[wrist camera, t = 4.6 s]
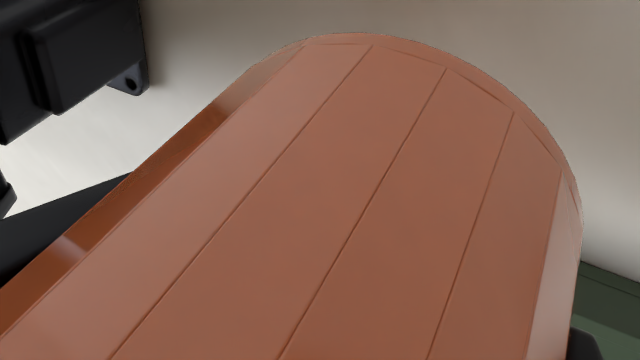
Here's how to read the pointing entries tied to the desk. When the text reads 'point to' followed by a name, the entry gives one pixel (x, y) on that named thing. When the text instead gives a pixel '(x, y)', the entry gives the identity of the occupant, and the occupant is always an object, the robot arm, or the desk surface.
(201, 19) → the desk surface
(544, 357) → the large cup
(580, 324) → the tray
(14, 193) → the robot arm
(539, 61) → the desk surface
